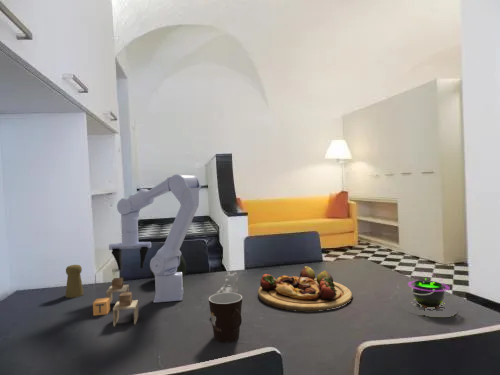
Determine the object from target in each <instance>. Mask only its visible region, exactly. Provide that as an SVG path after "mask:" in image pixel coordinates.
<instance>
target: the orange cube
mask: <svg viewBox="0 0 500 375" xmlns="http://www.w3.org/2000/svg"><path fill="white" fill-rule="evenodd" d="M110 311H111V303H110V298H107V297H101V298H96V299H95V300H94V301H93V302H92V315H93V316H94V317H95V316H106V315H108V313H109V312H110Z"/></svg>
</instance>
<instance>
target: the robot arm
mask: <svg viewBox="0 0 500 375" xmlns="http://www.w3.org/2000/svg"><path fill="white" fill-rule="evenodd" d="M201 187H202V186H201V184H200V180H199V178H198V177H197V176H196V175H194V174H178V173H177V174H174V175H172V176H169V177H167V178H166V179H165V180H163V181H161V182H160V183H158V184H157V185H155V186H154V187H152V188H151V189H148V188H140V189H138V192H135V194H130V195H129V196H128V198H125V197H124V198H123V197H122V198H120V199H119V200H118V202H117V205H116V208H117V211H118V213H119V214H120V223H121V226H120V228H121V242H118V243H117V242H116V243H110V244H108V250H109V251H111V255H112V256H113V258H114V259H115V262H116V265H117V268H118V270H119V271H120V270H122V268H123V266H122V265H123V264H122V263H123V262H122V250H129V249H139V255H140V269H144V266H145V265H144V264H145V260H146V256H147V253H148V252H149V249H151V248H152V242H151V241H139V215H140V211H141V210H142V209H144V208H146V207H148V206H149V205H151V204H153V202H154V201H155V199H156V198H158V197H160V196H162V195H164V194H166V193H167V194H168V192H171V193H172V194H173V196H175V198H176V199H177V201H178V203H179V204H180V207H179V209H178V211H177V214H176V217H174V221H173V223H172V226H171V228H170V230H169V231H168V234H167V236H166V239H165V241H164V244H163V245H162V247H160V248H159V249H158V250H157V251H156V254H155V255H154V256H153V257H152V258H151V259H150V262H149V269H150V268H151V270H152V272H153V273H154V275H155V279H154V282H155V283H154V285H155V288H154V289H155V296H154V297H153V298H154V299H153V303H166V302H176V301H177V302H178V301H179V302H180V301H182V300H183V298H184V297H183V295H184V287H183V286H184V285H183V284H184V283H183V282H184V281H183V278H182V272H176V271H177V267H178V266H179V264H180V256H181V255H182V251H181V250H180V249H181V247H182V244H183V242H184V240H185V237H186V236H187V233H188V231H189V229H190V226H191V224H192V222H193V220H194V217H195V215H196V214H197V211H198V208H199V205H200V189H201Z"/></svg>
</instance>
